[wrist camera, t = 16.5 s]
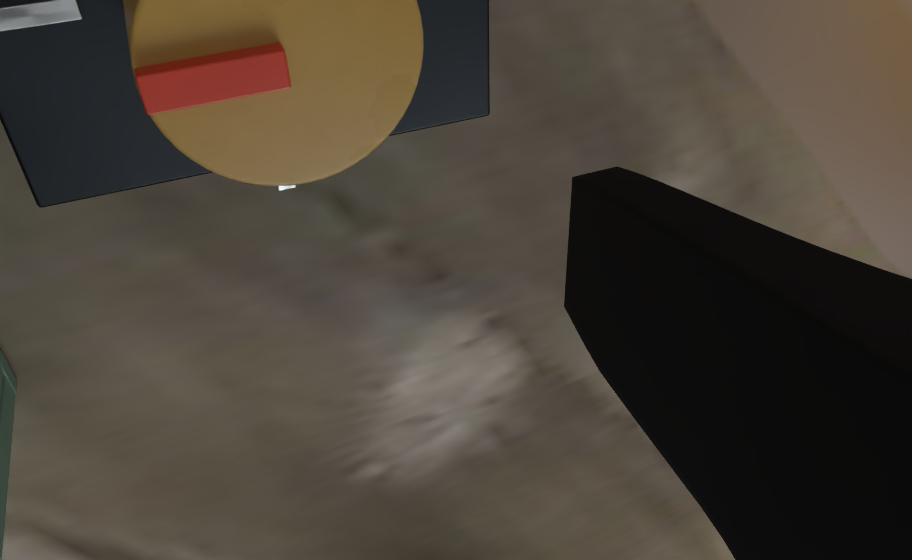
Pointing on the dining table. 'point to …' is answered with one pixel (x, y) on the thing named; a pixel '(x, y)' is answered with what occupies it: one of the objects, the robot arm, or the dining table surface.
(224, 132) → the tap knob
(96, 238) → the dining table surface
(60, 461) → the dining table surface
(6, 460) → the basin
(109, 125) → the black dial box
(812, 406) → the robot arm
